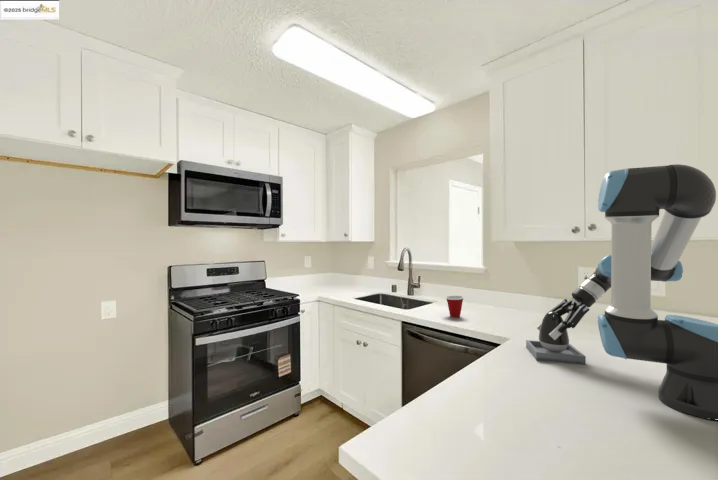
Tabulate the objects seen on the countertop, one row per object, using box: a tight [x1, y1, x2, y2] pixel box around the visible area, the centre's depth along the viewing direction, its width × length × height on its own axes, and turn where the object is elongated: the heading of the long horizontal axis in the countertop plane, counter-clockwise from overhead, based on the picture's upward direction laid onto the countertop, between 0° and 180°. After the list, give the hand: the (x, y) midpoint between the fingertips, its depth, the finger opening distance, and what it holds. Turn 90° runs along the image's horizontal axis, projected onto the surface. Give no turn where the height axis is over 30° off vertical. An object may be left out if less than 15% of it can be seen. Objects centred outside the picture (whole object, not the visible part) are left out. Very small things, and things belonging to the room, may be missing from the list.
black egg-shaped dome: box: [538, 311, 570, 352], centre depth 125 cm, size 10×10×15 cm
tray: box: [525, 339, 587, 365], centre depth 125 cm, size 16×16×3 cm
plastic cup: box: [445, 295, 465, 318], centre depth 194 cm, size 11×11×12 cm
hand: (545, 333), depth 125 cm, fingers closed on black egg-shaped dome, 10 cm apart
